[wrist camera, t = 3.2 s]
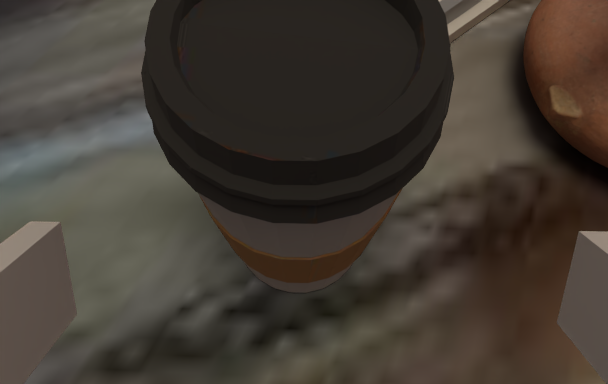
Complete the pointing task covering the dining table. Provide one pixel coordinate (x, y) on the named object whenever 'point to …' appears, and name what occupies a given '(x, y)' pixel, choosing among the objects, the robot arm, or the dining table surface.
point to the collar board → (467, 14)
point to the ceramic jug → (571, 71)
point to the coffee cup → (297, 119)
